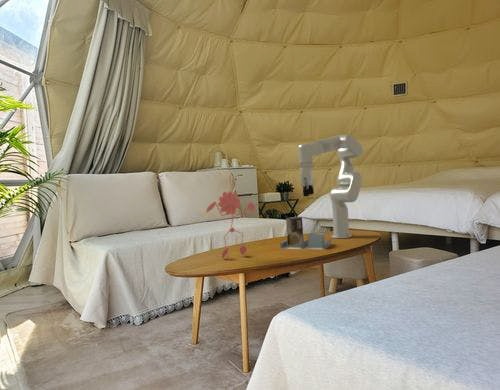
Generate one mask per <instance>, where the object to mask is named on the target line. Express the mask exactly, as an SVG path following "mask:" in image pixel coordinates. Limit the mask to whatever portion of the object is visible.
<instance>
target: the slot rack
mask: <svg viewBox="0 0 500 390" xmlns="http://www.w3.org/2000/svg"><path fill="white" fill-rule="evenodd" d="M331 245H332V238H328V239H327V240H325V243H323V248H321V247H308V238H307V239H305V240H304V242H302V243H301V247H288V241H287V239H285V240H283V241H281V242H280V243H279V246H280V247H279V249H280V250H314V251H315V250H318V251H319V250H321V251H323V250H324V251H326V250H327V248H328V247H330V246H331Z"/></svg>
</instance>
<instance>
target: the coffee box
mask: <svg viewBox="0 0 500 390" xmlns="http://www.w3.org/2000/svg"><path fill="white" fill-rule="evenodd" d="M285 223H286V224H285V225H286V237H287V238H286V240H287V241H288V247H301V243H302V242H304V241H305V240H304V239H305V238H304V227H303V225H304V224H303V216H294V217H293V216H292V217H286V219H285Z"/></svg>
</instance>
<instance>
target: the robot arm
mask: <svg viewBox="0 0 500 390" xmlns="http://www.w3.org/2000/svg"><path fill="white" fill-rule="evenodd" d="M297 148H298V161H299V169H300V185H301V186H302V195H303V197H310V195H314V192H315V191H314V175H313V168H314V164H313V163H314V162H313V157H318V156H321V155H322V154H327V153H330V152H333V151H337V156H338V159H339V162H340V169H339V172H338V175H337V178H336V185H337V187H334V188H331V190H330V192H329V196H330V201H331V208H332V224H333V230H332V231H333V234H331V235H330V237H331V239H332V238H333V239H349V238H351V237H353V236H352V234H351V233H350V227H349V208H348V206H347V204H346V203H354V202H356V201H357V200H358V198H359V194H360V190H361V187H362V183H363V178H362V177H363V176H362V174H361V173H360V172H357V171H354V170H355V164H353V162H352V160H351V159H357V158H360V157H362V156H363V154H364V148H363V146H362V145H361V143H360V142H359V141H358V140H357V139H356V138H355V137H354V136H353V135H351V134H348V133H347V134H346V133H345V134H340V135H334V136H330V137H327V138H323V139H319V140H316V141H312V142H308V143H303V144H299V145H298V147H297Z"/></svg>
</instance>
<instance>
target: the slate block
mask: <svg viewBox="0 0 500 390" xmlns="http://www.w3.org/2000/svg"><path fill="white" fill-rule="evenodd" d="M307 239H308V247H321V248H323V243H325V242H326V240H325V239H326V238H325V233H324V232H319V233H318V232H317V233H316V232H315V233H314V232H310V233H308V234H307Z"/></svg>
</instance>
